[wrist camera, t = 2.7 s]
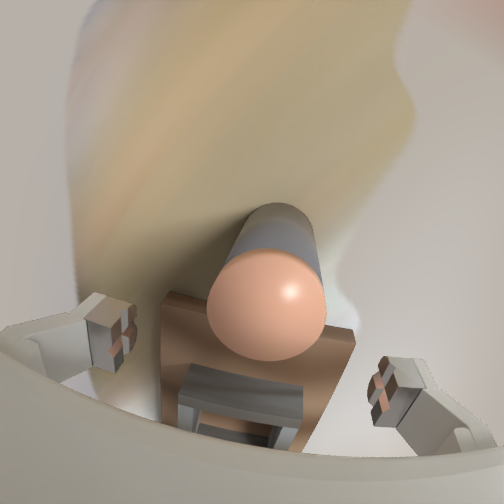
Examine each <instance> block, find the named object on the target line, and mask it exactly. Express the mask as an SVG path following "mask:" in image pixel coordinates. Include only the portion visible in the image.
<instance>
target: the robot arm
mask: <svg viewBox="0 0 504 504" xmlns="http://www.w3.org/2000/svg"><path fill="white" fill-rule="evenodd" d="M136 316H137V314H136V306H135V305H134V304H132V303H129V302H126V301H122V300H119V299H116V298H113V297H110V296H107V295H104V294H100V293H97V292H96V293H92V294H91V295H90V296H89V297H88V298H87V299H85V300H84V301H83V302H82V303H81V304H80V305H79V306H77V307H76V308H75V309H74V310H73V311H72V312H71V313H70V314H68V313H62V314H58V315H54V316H49V317H45V318H41V319H37V320H33V321H29V322H25V323H20V324H17V325H12V326H8V327H6V328H5V329H4V330H3V331H1V332H0V504H504V446H500V447H498V446H497V444H496V442H495V440H494V438H493V436H492V434H491V431H490V429H489V428H488V425H487V424H486V423H484V422H483V421H482V420H481V419H479V418H478V417H477V416H475V415H474V414H473V413H472V412H470V411H469V410H468V409H467V408H465V407H464V406H463V405H461V404H460V403H459V402H457V401H456V400H455V399H454V398H452V397H451V396H450V395H449V394H447V393H446V392H445V391H443V390H439V389H438V386H437V384H436V382H435V380H434V378H433V376H432V374H431V372H430V370H429V368H428V366H427V364H426V362H425V361H424V360H423V359H412V358H410V359H409V358H397V357H389V356H383V358H382V359H381V360H380V362H379V364H378V368H379V372H377V373H376V374H374V375H373V376H372V378H371V380H370V382H369V386H368V390H367V391H368V392H367V393H368V394H367V397H368V402H369V403H370V404H371V405H372V406H373V409H372V410H371V416H372V420H373V425H374V426H377V427H392V428H396V430H397V431H398V432H399V433H400V434H401V436H402V437H403V438H404V439H405V440H406V442H407V443H408V444H409V445H410V447H411V448H412V449H413V450H414V451H415V453H416V454H417V455H418V456H416V457H380V458H379V457H377V458H376V457H347V456H331V455H318V454H309V453H300V452H292V451H284V450H277V449H270V448H264V447H258V446H252V445H247V444H242V443H237V442H232V441H227V440H222V439H218V438H214V437H209V436H205V435H201V434H197V433H194V432H190V431H186V430H182V429H179V428H175V427H172V426H169V425H165V424H162V423H159V422H156V421H152V420H149V419H146V418H143V417H140V416H138V415H135V414H132V413H129V412H126V411H124V410H121V409H118V408H116V407H113V406H110V405H108V404H105V403H103V402H100V401H98V400H95V399H92V398H91V397H88V396H86V395H84V394H81V393H79V392H77V391H75V390H72V389H70V388H68V387H66V386H64V385H62V384H60V382H62V381H64V380H67V379H68V378H71V377H72V376H75V375H77V374H79V373H81V372H83V371H85V370H87V369H89V368H91V367H92V366H95V367H98V368H100V369H103V370H106V371H109V372H112V373H116V372H117V370H118V369H119V367H120V366H121V364H122V363H123V362H124V357H123V355H126V354H128V353H130V352H131V350H132V349H133V347H134V344H135V341H136V336H137V327H136V325H135V323H134V322H133V320H134V319H135V317H136Z"/></svg>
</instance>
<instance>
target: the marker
mask: <svg viewBox="0 0 504 504" xmlns="http://www.w3.org/2000/svg"><path fill="white" fill-rule="evenodd" d="M207 316H208V320H209V323H210V326H211V328H212V330H213V332H214V333H215V335H216V336H217V337H218V339H219V340H220V341H221V342H222V343H223V344H224V345H225V346H227V347H228V348H229V349H231V350H232V351H234V352H235V353H237V354H239V355H241V356H244V357H247V358H250V359H254V360H259V361H279V360H285V359H288V358H292V357H294V356H297V355H299V354H301V353H302V352H304V351H305V350H307V349H308V348H309V347H311V346H312V345H313V344H314V343H315V341H316V340H317V339H318V338H319V336H320V334H321V333H322V331H323V328H324V325H325V322H326V303H325V296H324V290H323V284H322V278H321V272H320V266H319V260H318V255H317V249H316V244H315V238H314V233H313V229H312V226H311V223H310V221H309V219H308V218H307V217H306V215H305V214H304V213H303V212H302V211H300V210H299V209H297V208H296V207H294V206H292V205H289V204H285V203H270V204H266V205H263V206H261V207H259V208H257V209H256V210H255V211H254V212H253V213H252V214H251V215H250V216H249V217H248V218H247V220H246V222H245V224H244V226H243V228H242V230H241V232H240V234H239V235H238V237H237V239H236V241H235V243H234V245H233V247H232V249H231V251H230V253H229V255H228V257H227V259H226V261H225V263H224V265H223V267H222V268H221V270H220V272H219V274H218V276H217V278H216V280H215V282H214V284H213V286H212V288H211V290H210V293H209V296H208V300H207Z"/></svg>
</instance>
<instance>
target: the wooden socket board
mask: <svg viewBox="0 0 504 504" xmlns="http://www.w3.org/2000/svg"><path fill="white" fill-rule="evenodd" d="M355 345H356V342H355V337H354V333H353V330H351V329H345V328H339V327H333V326H328V325H324V328H323V331H322V333H321V334H320V336H319V338H318V339H317V340H316V341H315V343H314V344H313V345H312V346H311V347H309V348H308V349H307V350H305V351H304V352H302V353H301V354H299V355H297V356H294V357H292V358H288V359H285V360H279V361H259V360H254V359H250V358H247V357H244V356H241V355H239V354H237V353H235V352H234V351H232V350H231V349H229V348H228V347H227V346H225V345H224V344H223V343H222V342H221V341H220V340H219V339H218V337H217V336H216V335H215V333H214V332H213V330H212V328H211V326H210V323H209V320H208V316H207V301H206V300H202V299H197V298H193V297H189V296H185V295H181V294H177V293H172V292H169V293H168V295H167V296H166V298H165V299H164V300H163V302H162V303H161V406H162V424H165V425H169V426H172V427H175V428H179V429H182V430H186V431H190V432H194V433H197V434H201V435H205V436H209V437H214V438H218V439H222V440H227V441H232V442H237V443H242V444H247V445H252V446H258V447H264V448H270V449H277V450H284V451H292V452H300V453H301V452H302V450H303V449H304V447H305V445H306V443H307V442H308V440H309V438H310V436H311V434H312V432H313V431H314V429H315V427H316V425H317V424H318V421H319V420H320V418H321V416H322V414H323V412H324V410H325V408H326V406H327V404H328V402H329V400H330V399H331V396H332V394H333V392H334V390H335V388H336V386H337V384H338V382H339V380H340V378H341V376H342V374H343V372H344V369H345V367H346V365H347V363H348V361H349V358H350V356H351V354H352V351H353V350H354V347H355Z"/></svg>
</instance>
